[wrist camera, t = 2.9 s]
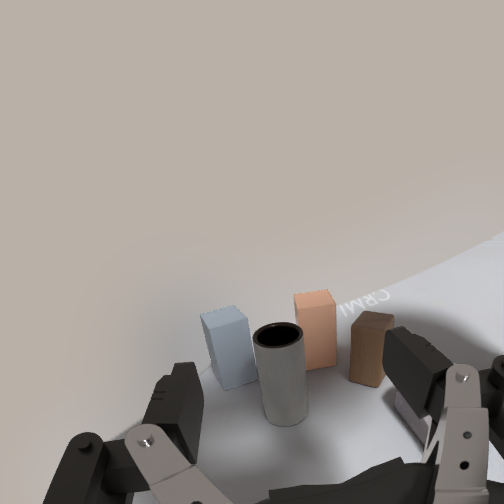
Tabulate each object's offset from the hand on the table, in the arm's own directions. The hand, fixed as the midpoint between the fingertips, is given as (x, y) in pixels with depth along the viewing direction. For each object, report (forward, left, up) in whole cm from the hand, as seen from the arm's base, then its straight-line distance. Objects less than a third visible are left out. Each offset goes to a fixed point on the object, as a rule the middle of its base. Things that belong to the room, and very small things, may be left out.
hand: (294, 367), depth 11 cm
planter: (-3, -12, -16) cm, 20 cm away
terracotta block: (-10, -20, -16) cm, 28 cm away
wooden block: (-14, -13, -16) cm, 25 cm away
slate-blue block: (+1, -21, -16) cm, 27 cm away
